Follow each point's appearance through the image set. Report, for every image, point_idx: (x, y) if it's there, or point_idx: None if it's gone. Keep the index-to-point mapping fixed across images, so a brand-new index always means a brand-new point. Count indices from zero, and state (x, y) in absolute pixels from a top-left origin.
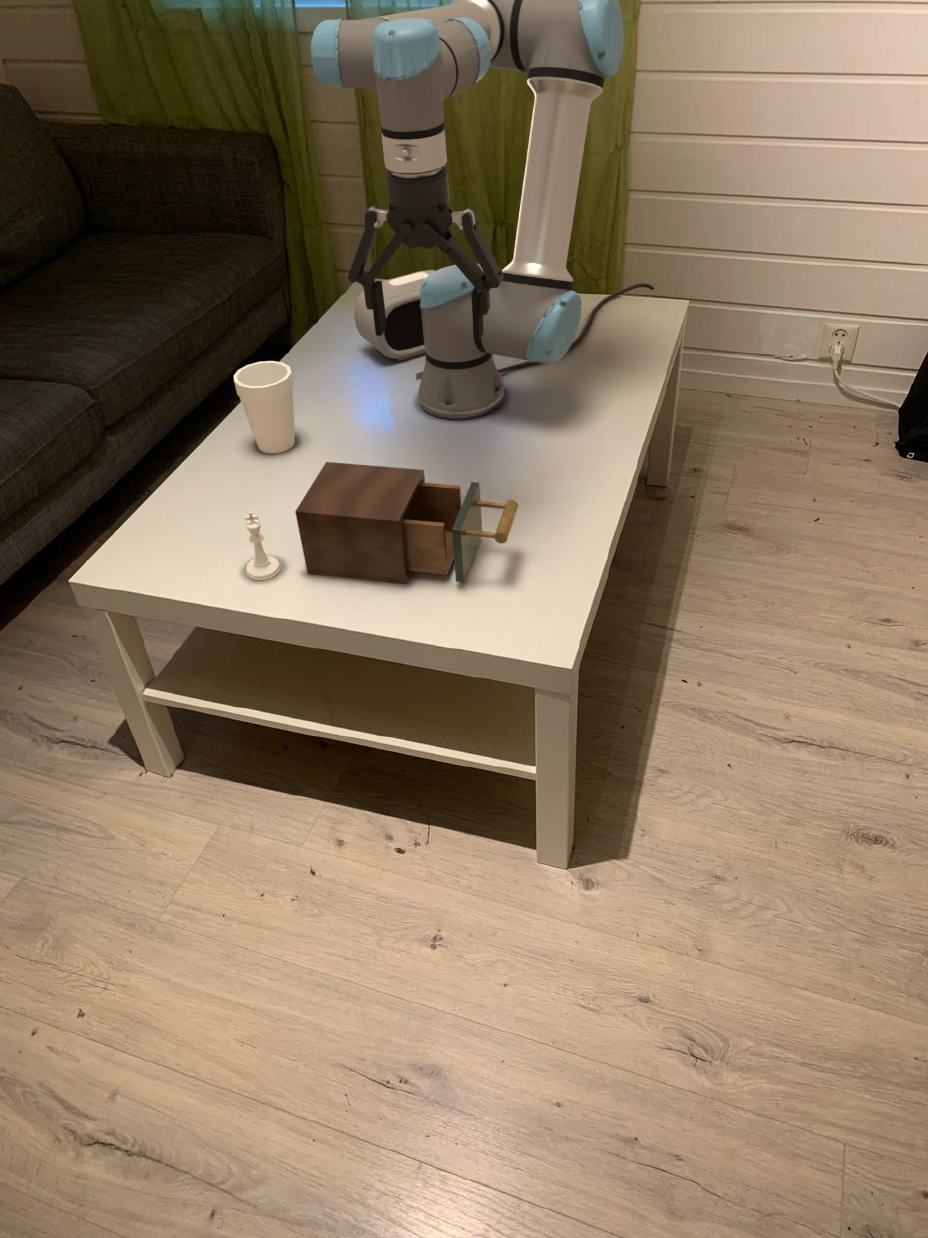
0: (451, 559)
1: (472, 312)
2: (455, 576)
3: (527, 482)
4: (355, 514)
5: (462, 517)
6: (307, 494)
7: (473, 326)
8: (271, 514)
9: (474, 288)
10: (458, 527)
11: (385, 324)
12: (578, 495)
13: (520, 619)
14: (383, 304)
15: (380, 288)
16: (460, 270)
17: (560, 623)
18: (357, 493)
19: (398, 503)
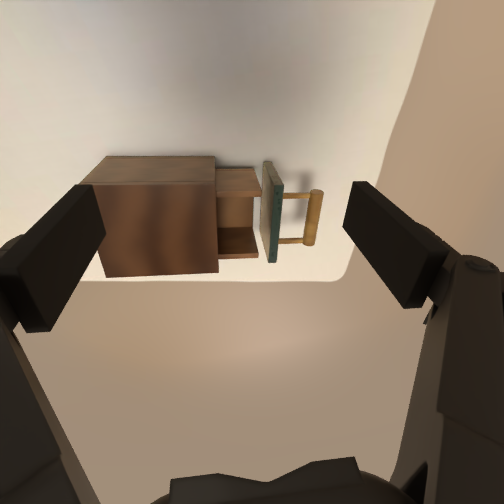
0: (252, 215)
1: (373, 267)
2: (260, 233)
3: (310, 25)
4: (171, 271)
5: (275, 246)
6: (100, 251)
7: (357, 245)
8: (19, 152)
9: (418, 277)
10: (274, 260)
11: (90, 197)
12: (372, 53)
13: (312, 251)
14: (65, 226)
15: (39, 275)
16: (416, 376)
17: (340, 250)
18: (155, 241)
19: (208, 249)
